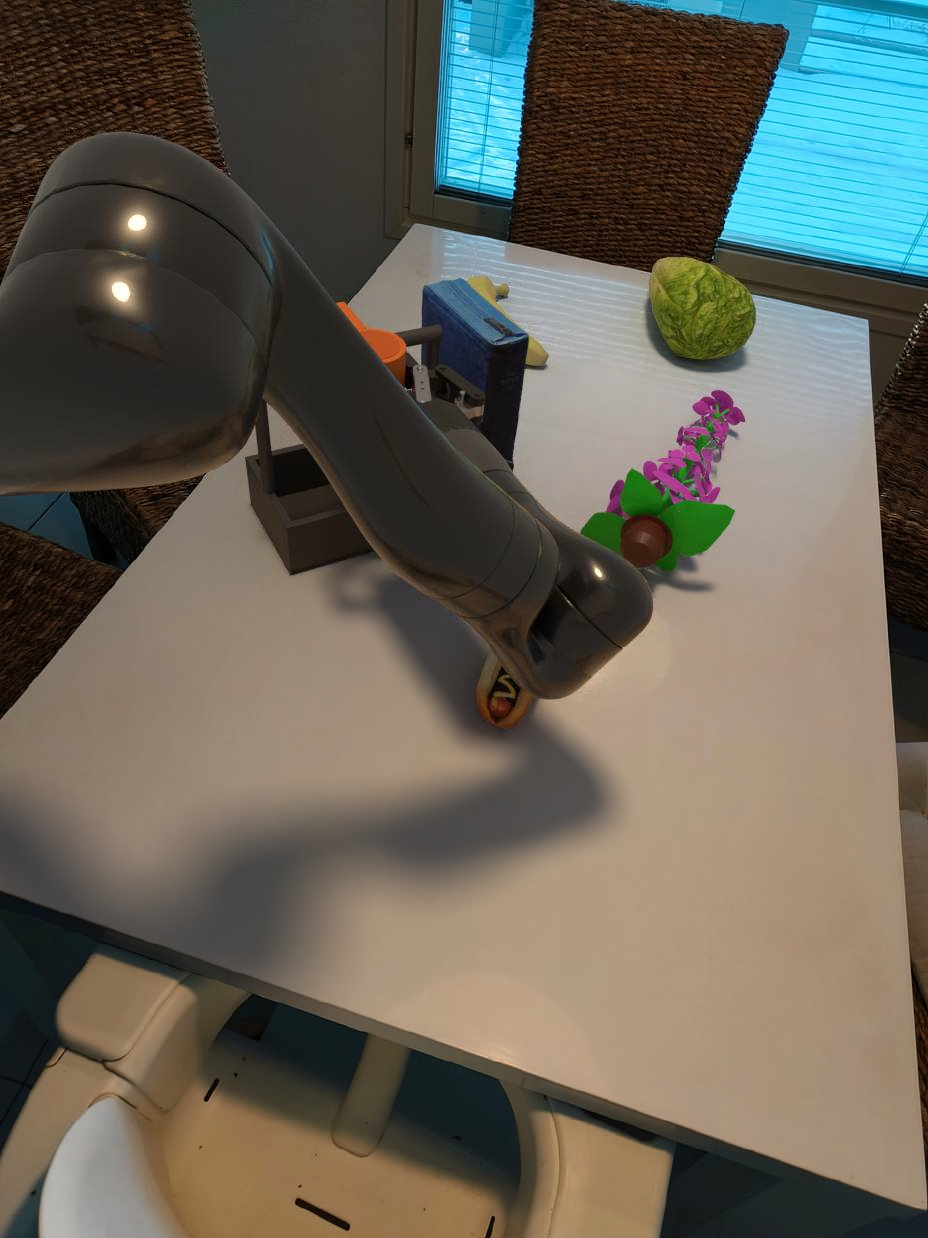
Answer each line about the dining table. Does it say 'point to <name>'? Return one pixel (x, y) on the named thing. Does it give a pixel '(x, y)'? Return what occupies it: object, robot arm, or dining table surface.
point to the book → (480, 354)
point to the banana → (489, 292)
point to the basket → (310, 490)
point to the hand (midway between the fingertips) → (359, 363)
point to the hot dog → (500, 696)
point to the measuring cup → (382, 344)
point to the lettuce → (700, 308)
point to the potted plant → (670, 497)
